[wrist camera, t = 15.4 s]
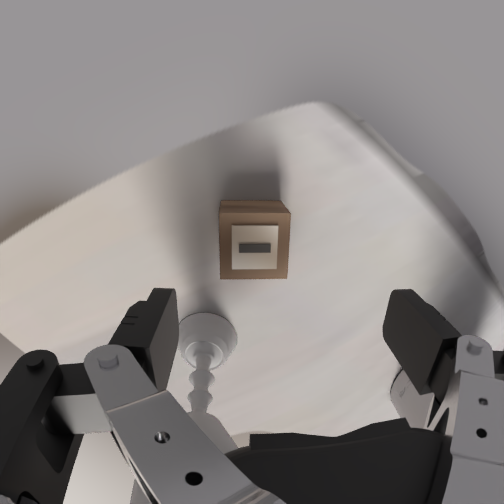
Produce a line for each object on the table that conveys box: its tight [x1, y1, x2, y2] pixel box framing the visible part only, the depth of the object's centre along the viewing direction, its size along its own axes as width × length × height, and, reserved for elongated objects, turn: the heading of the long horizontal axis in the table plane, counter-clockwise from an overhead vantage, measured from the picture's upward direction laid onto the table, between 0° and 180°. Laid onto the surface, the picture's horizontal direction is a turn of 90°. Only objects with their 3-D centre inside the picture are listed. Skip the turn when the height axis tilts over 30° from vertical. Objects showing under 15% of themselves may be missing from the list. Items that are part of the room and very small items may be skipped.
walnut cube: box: [219, 200, 291, 279], centre depth 20 cm, size 4×4×4 cm
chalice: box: [130, 313, 238, 504], centre depth 16 cm, size 7×7×18 cm
